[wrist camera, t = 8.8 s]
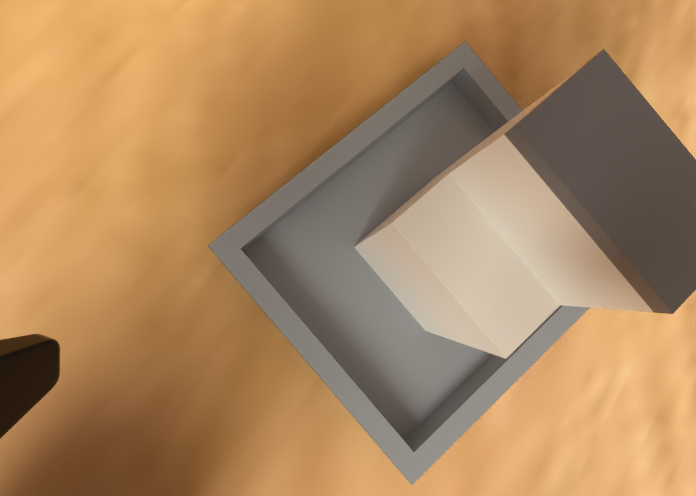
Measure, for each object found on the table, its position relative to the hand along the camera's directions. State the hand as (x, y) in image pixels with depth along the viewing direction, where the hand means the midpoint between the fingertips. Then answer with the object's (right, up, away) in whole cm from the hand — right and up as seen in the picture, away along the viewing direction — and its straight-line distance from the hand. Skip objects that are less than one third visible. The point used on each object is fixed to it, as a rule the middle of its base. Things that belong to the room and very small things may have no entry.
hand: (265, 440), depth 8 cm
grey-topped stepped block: (+6, +3, +14) cm, 15 cm away
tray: (+6, +3, +14) cm, 16 cm away
